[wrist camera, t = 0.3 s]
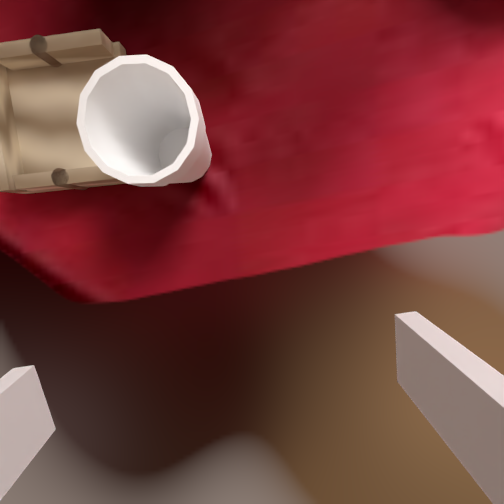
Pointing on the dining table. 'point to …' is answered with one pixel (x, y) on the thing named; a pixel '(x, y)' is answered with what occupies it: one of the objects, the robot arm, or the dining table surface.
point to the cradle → (48, 111)
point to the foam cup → (143, 123)
